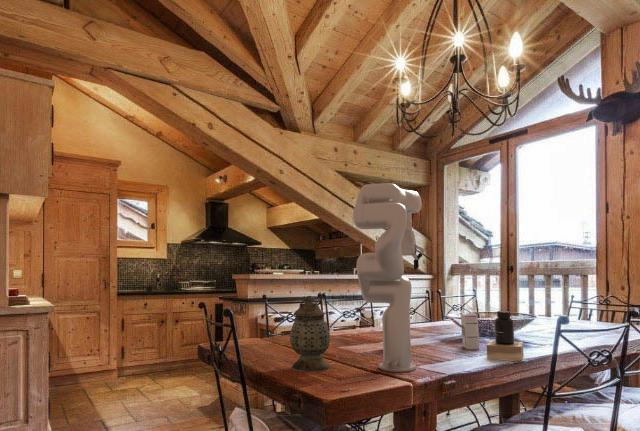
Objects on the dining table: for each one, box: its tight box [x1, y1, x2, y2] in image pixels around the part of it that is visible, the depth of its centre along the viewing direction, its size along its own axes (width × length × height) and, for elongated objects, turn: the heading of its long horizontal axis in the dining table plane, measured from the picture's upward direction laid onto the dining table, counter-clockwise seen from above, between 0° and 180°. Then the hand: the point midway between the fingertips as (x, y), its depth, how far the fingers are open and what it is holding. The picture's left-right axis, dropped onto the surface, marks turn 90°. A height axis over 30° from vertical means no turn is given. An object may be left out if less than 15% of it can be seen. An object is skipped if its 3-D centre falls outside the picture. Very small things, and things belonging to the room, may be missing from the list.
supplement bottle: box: [494, 310, 515, 345], centre depth 182 cm, size 7×7×12 cm
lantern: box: [289, 295, 331, 373], centre depth 167 cm, size 14×14×25 cm
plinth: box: [486, 340, 525, 362], centre depth 181 cm, size 12×12×5 cm
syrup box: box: [460, 312, 480, 350], centre depth 202 cm, size 6×6×14 cm
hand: (404, 270), depth 192 cm, fingers open, 9 cm apart
